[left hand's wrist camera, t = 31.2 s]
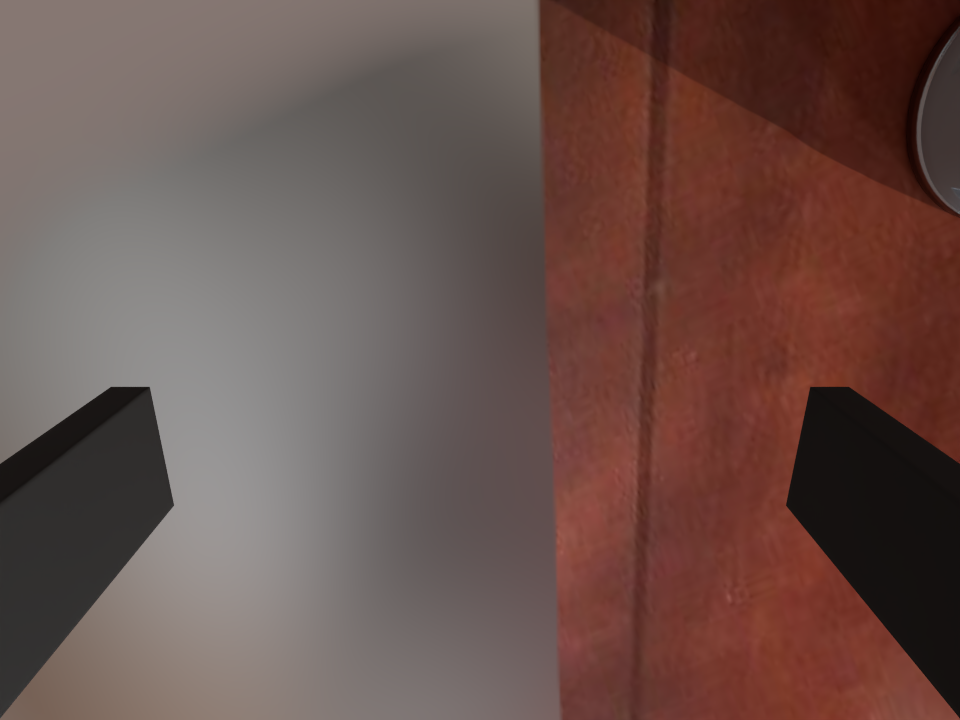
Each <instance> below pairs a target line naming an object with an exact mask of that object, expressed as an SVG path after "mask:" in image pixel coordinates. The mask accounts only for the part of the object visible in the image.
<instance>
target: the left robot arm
mask: <svg viewBox="0 0 960 720" xmlns="http://www.w3.org/2000/svg"><path fill="white" fill-rule="evenodd" d="M907 146H908V153H909V158H910V162H911V165H912V169H913V172H914V174H915V176H916V178H917V180H918V182H919V184H920V185H921V187H922V189H923V190H924V191H925V193H926V194H927V195H928V196H929V197H930V198H931V199H932V200H933V201H934V202H935V203H936V204H937V205H938V206H939V207H941V208H942V209H943V210H945V211H947V212H948V213H950V214H952V215H954V216H956V217H959V218H960V16H959V17H958V18H957V19H956V21H955V22H954V23H953V24H952V25H951V26H950V27H949V28H948V30H947V31H946V32H945V33H944V35H943V36H942V37H941V38H940V40H939V41H938V43H937V44H936V46H935V47H934V49H933V50H932V52H931V54H930V55H929V57H928V59H927V61H926V63H925V64H924V67H923V69H922V71H921V73H920V75H919V77H918V80H917V83H916V85H915V88H914V91H913V95H912V98H911V102H910V107H909V112H908V120H907ZM173 506H174V503H173V498H172V494H171V489H170V484H169V479H168V474H167V469H166V464H165V460H164V455H163V450H162V445H161V440H160V435H159V430H158V425H157V420H156V416H155V411H154V406H153V401H152V396H151V391H150V387H110V388H109V389H108V390H106V391H105V392H103V393H102V394H100V395H99V396H97V397H96V398H95V399H93V400H92V401H90V402H89V403H87V404H86V405H84V406H83V407H82V408H80V409H79V410H77V411H76V412H74V413H73V414H71V415H70V416H69V417H67V418H66V419H64V420H63V421H61V422H60V423H59V424H57V425H56V426H54V427H53V428H51V429H50V430H49V431H47V432H46V433H44V434H43V435H41V436H40V437H38V438H37V439H36V440H34V441H33V442H31V443H30V444H28V445H27V446H25V447H24V448H23V449H21V450H20V451H18V452H17V453H15V454H14V455H13V456H11V457H10V458H8V459H7V460H5V461H4V462H2V463H1V464H0V718H1V717H2V715H3V714H4V713H5V712H6V710H7V709H8V708H9V707H10V705H11V704H12V703H13V702H14V701H15V699H16V698H17V697H18V696H19V695H20V693H21V692H22V691H23V690H24V688H25V687H26V686H27V685H28V684H29V682H30V681H31V680H32V679H33V677H34V676H35V675H36V674H37V672H38V671H39V670H40V669H41V668H42V666H43V665H44V664H45V663H46V661H47V660H48V659H49V658H50V657H51V655H52V654H53V653H54V652H55V650H56V649H57V648H58V647H59V645H60V644H61V643H62V642H63V641H64V639H65V638H66V637H67V636H68V635H69V633H70V632H71V631H72V630H73V628H74V627H75V626H76V625H77V624H78V622H79V621H80V620H81V619H82V617H83V616H84V615H85V614H86V612H87V611H88V610H89V609H90V608H91V606H92V605H93V604H94V603H95V601H96V600H97V599H98V598H99V596H100V595H101V594H102V593H103V592H104V590H105V589H106V588H107V587H108V585H109V584H110V583H111V582H112V581H113V579H114V578H115V577H116V576H117V574H118V573H119V572H120V571H121V570H122V568H123V567H124V566H125V565H126V564H127V562H128V561H129V560H130V559H131V557H132V556H133V555H134V554H135V552H136V551H137V550H138V549H139V548H140V546H141V545H142V544H143V543H144V541H145V540H146V539H147V538H148V537H149V535H150V534H151V533H152V532H153V530H154V529H155V528H156V527H157V526H158V524H159V523H160V522H161V521H162V519H163V518H164V517H165V516H166V515H167V513H168V512H169V511H170V510H171V508H172V507H173ZM786 506H787V507H788V508H789V510H790V511H791V512H792V513H793V515H794V516H795V517H796V518H797V519H798V521H799V522H800V523H801V524H802V526H803V527H804V528H805V529H806V530H807V532H808V533H809V534H810V535H811V537H812V538H813V539H814V540H815V541H816V543H817V544H818V545H819V546H820V548H821V549H822V550H823V551H824V552H825V554H826V555H827V556H828V557H829V559H830V560H831V561H832V562H833V564H834V565H835V566H836V567H837V568H838V570H839V571H840V572H841V573H842V575H843V576H844V577H845V578H846V579H847V581H848V582H849V583H850V584H851V586H852V587H853V588H854V589H855V590H856V592H857V593H858V594H859V595H860V597H861V598H862V599H863V600H864V601H865V603H866V604H867V605H868V606H869V608H870V609H871V610H872V611H873V612H874V614H875V615H876V616H877V617H878V619H879V620H880V621H881V622H882V624H883V625H884V626H885V627H886V628H887V630H888V631H889V632H890V633H891V635H892V636H893V637H894V638H895V639H896V641H897V642H898V643H899V644H900V646H901V647H902V648H903V649H904V650H905V652H906V653H907V654H908V655H909V657H910V658H911V659H912V660H913V661H914V663H915V664H916V665H917V666H918V668H919V669H920V670H921V671H922V672H923V674H924V675H925V676H926V677H927V679H928V680H929V681H930V682H931V684H932V685H933V686H934V687H935V688H936V690H937V691H938V692H939V693H940V695H941V696H942V697H943V698H944V699H945V701H946V702H947V703H948V704H949V706H950V707H951V708H952V709H953V710H954V712H955V713H956V714H957V715H958V717H959V718H960V464H959V463H958V462H956V461H955V460H953V459H952V458H950V457H949V456H948V455H946V454H945V453H943V452H942V451H940V450H939V449H937V448H936V447H935V446H933V445H932V444H930V443H929V442H927V441H926V440H924V439H923V438H922V437H920V436H919V435H917V434H916V433H914V432H913V431H912V430H910V429H909V428H907V427H906V426H904V425H903V424H901V423H900V422H899V421H897V420H896V419H894V418H893V417H891V416H890V415H889V414H887V413H886V412H884V411H883V410H881V409H880V408H878V407H877V406H876V405H874V404H873V403H871V402H870V401H868V400H867V399H865V398H864V397H863V396H861V395H860V394H858V393H857V392H855V391H854V390H853V389H851V388H850V387H810V391H809V396H808V401H807V406H806V411H805V416H804V420H803V425H802V430H801V435H800V440H799V445H798V450H797V455H796V459H795V464H794V469H793V474H792V479H791V484H790V489H789V494H788V498H787V503H786Z"/></svg>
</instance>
